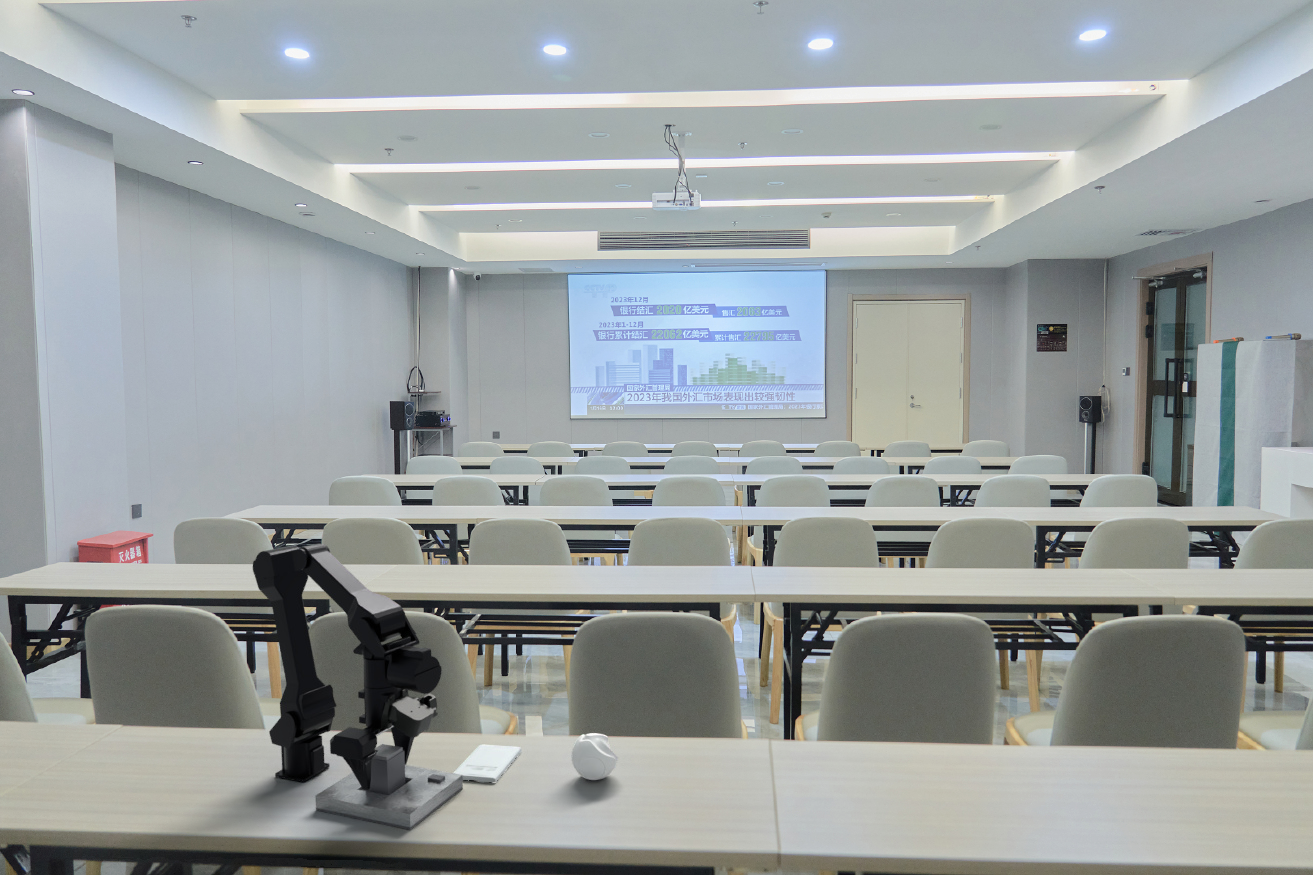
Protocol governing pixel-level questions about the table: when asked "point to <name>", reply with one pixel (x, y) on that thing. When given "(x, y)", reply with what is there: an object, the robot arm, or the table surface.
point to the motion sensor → (593, 756)
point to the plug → (387, 769)
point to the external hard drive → (487, 762)
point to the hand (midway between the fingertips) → (385, 776)
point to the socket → (392, 798)
